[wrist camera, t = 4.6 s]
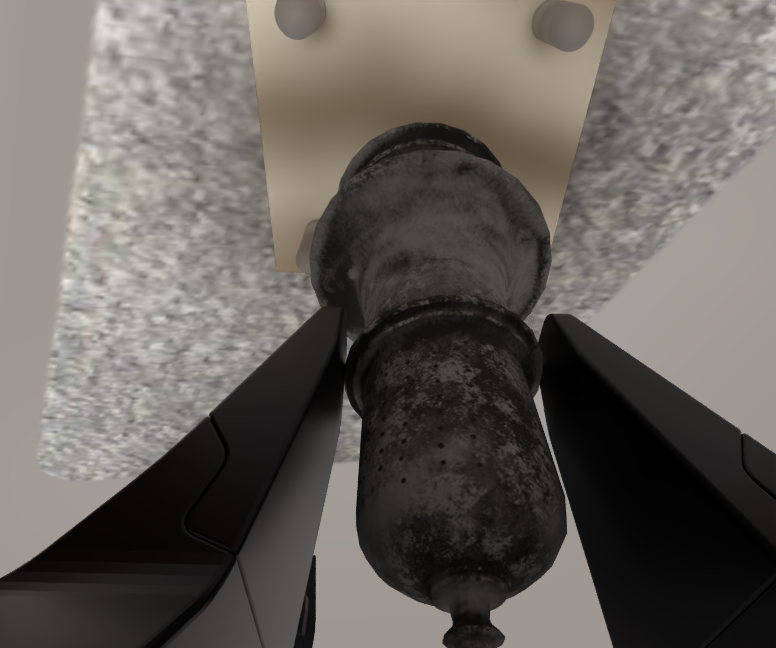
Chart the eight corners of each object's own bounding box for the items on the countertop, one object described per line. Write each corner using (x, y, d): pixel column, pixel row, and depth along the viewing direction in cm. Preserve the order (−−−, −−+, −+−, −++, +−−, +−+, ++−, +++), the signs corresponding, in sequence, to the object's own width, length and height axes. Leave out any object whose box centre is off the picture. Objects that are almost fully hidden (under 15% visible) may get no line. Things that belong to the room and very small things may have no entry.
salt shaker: (561, 198, 14) (905, 670, 5) (430, 322, 17) (479, 780, 8) (410, 60, 12) (476, 405, 3) (288, 226, 15) (100, 695, 5)
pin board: (536, 270, 23) (556, 313, 20) (280, 260, 23) (264, 302, 20) (618, -53, 16) (667, -56, 13) (245, -71, 15) (212, -78, 13)
